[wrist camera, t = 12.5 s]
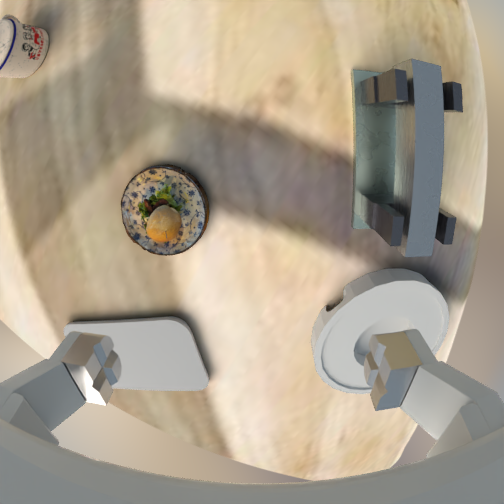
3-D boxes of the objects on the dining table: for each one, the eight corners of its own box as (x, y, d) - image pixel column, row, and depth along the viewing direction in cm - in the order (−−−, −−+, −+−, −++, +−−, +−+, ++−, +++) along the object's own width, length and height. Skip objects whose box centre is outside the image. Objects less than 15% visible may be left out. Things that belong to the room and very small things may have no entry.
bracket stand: (350, 70, 29) (382, 51, 19) (421, 81, 28) (467, 72, 19) (351, 226, 37) (378, 260, 27) (416, 225, 36) (456, 256, 27)
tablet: (214, 381, 50) (212, 390, 48) (99, 379, 52) (95, 386, 50) (188, 309, 43) (185, 318, 41) (64, 317, 46) (58, 324, 44)
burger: (165, 145, 34) (142, 150, 27) (229, 212, 37) (221, 232, 30) (110, 209, 37) (82, 226, 31) (168, 267, 41) (151, 295, 34)
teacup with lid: (54, 59, 28) (1, 51, 17) (16, 89, 29) (-35, 91, 18) (47, 5, 23) (1, -10, 13) (11, 36, 25) (-35, 30, 14)
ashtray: (311, 386, 49) (313, 402, 46) (307, 277, 40) (311, 292, 37) (424, 364, 47) (431, 378, 44) (448, 258, 38) (461, 269, 35)
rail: (392, 66, 24) (411, 58, 20) (420, 71, 24) (440, 66, 19) (389, 241, 32) (404, 257, 27) (414, 240, 31) (431, 256, 27)
